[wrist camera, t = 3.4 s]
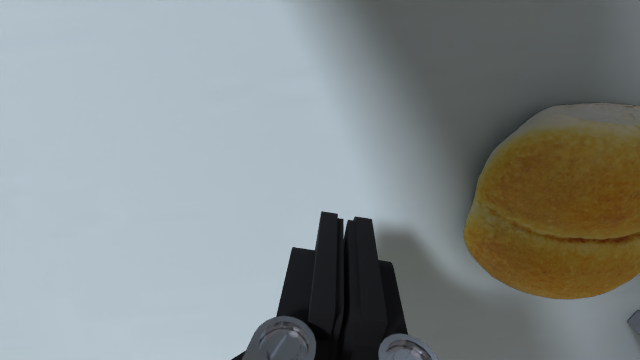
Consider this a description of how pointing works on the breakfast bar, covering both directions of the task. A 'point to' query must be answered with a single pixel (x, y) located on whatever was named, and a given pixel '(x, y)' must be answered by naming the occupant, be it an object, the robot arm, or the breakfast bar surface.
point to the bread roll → (562, 203)
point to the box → (635, 322)
